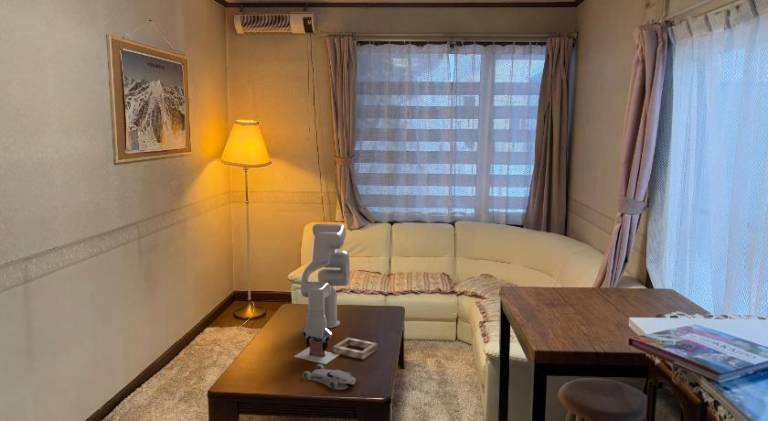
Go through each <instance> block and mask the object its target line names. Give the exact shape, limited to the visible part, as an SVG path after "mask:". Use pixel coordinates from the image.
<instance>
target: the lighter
mask: <svg viewBox="0 0 768 421" xmlns="http://www.w3.org/2000/svg"><path fill="white" fill-rule="evenodd" d="M310 337H311V336H310ZM309 342H310V346H309V348H310V352H309V355H311V356H315V357H325V351H326V350H322V343H323V340H322V338H316V337H311V339H309Z"/></svg>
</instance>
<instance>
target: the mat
mask: <svg viewBox="0 0 768 421" xmlns="http://www.w3.org/2000/svg"><path fill="white" fill-rule="evenodd" d="M309 352H310V347H306V348H305V349H304V350H302V351H300V352H299V353H297V354H296V355H294V356H293V357H294V358H297V359H302V360H304V361H305V360H306V361H308V362H309V361H310V362H314V363H318V364H322V365H327V364H329V363H331V362H332V361H333V360H335V359H336V358H338V357H339V356H340V355H341V354H336V353H333V352H330V351H327V350H325V357H315V356H311V355H309Z"/></svg>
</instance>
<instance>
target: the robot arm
mask: <svg viewBox="0 0 768 421" xmlns="http://www.w3.org/2000/svg"><path fill="white" fill-rule="evenodd" d="M312 234H313V236H314V238H313V251H312V260H311V262H310V263H309V264H308V265H307V266H306V267H305V268H304V270H303V272H302V275H301V283H300V294H301V296H302V297H304V298H308V299H307V300H308V305H307V306H308V308H307V309H306V312H308V313H307V315H306V318H305V325H304V327H301V331H302V334H303V336H304V338H305V344H306V348H310V342H309V339H311V337H316V338H322V340H323V343H322V350H325V351H327V349H328V346H329V344H328V342H329V341H330V339H331V338H332V336H333V333H332V331H330V329H333V328H336V327H337V328H338V327H339V326H340V323H341V322H340V320H339V319H338V293H337V290H336V289H335V287H347V286H349V284H350V282H351V271H350V270H351V269H350V268H351V266H350V262H351V261H350V255H349V252H348V251H346V250H341V249H342V248H343V246H344V244H345V240H346V235H347V229H346V226H345V225H344V224H342V223H316V224H314V225H313V226H312ZM318 270H319V271H318ZM315 271H318V272H317V281H308V280H309V277H310V275H311V274H313V273H314V272H315ZM310 336H311V337H310Z"/></svg>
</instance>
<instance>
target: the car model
mask: <svg viewBox="0 0 768 421" xmlns="http://www.w3.org/2000/svg"><path fill="white" fill-rule="evenodd" d="M315 368H316V369H314V370H313V371H312V372H310V371H309V370H304V372H303V374H302V376H303V379H304V380H308V381H315V382H318V383H321V384H323V385H325V386H326V387H329V388H330V389H332V390H340V391H341V390H342V391H343V390H347V389H348V388H349V387H350V386H353V385H355V383H356V378H355V377H354V376H353V375H352V373H351V372H349V371H342V370H340V369H335V370H334V369H329V368H325V367H324V364H321V363H318V364H316V367H315Z"/></svg>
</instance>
